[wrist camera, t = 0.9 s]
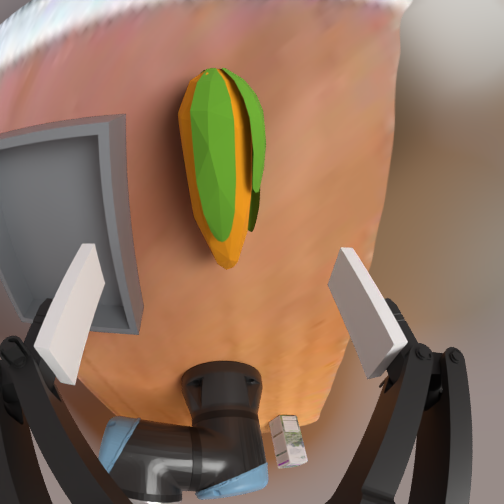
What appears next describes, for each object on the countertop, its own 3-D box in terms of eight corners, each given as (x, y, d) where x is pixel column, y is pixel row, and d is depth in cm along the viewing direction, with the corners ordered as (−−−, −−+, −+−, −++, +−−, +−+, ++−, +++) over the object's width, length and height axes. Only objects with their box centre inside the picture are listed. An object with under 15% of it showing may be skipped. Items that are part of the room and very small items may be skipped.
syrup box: (268, 422, 67) (277, 469, 55) (279, 414, 64) (290, 463, 52) (285, 422, 69) (295, 467, 57) (297, 414, 66) (309, 461, 54)
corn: (270, 63, 16) (271, 291, 27) (260, 67, 22) (263, 247, 34) (160, 72, 16) (194, 296, 27) (179, 73, 22) (200, 251, 33)
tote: (143, 306, 37) (138, 334, 32) (33, 298, 33) (21, 321, 29) (125, 113, 23) (108, 121, 19) (-11, 136, 19) (-37, 150, 15)
